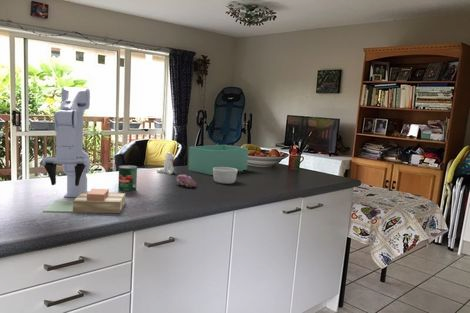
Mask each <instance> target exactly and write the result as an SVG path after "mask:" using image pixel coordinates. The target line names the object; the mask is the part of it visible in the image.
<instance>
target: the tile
mask: <svg viewBox="0 0 470 313" xmlns="http://www.w3.org/2000/svg"><path fill="white" fill-rule="evenodd" d="M109 190H110V189H109V188H91V189H90V190H88V191H89V192H88V193H87V200H104V199H105V198H106V197H107V195H108V194H109V193H110V192H109Z"/></svg>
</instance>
